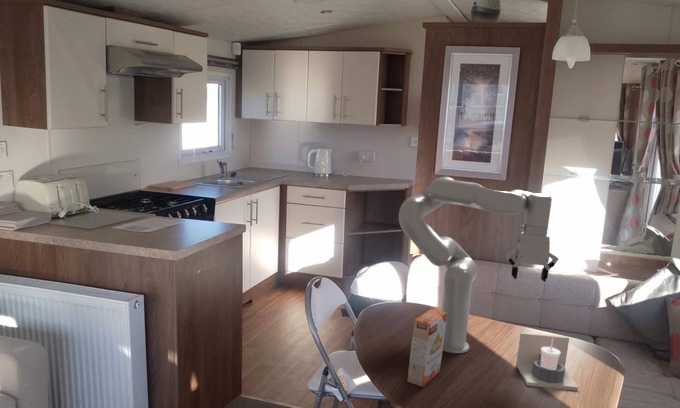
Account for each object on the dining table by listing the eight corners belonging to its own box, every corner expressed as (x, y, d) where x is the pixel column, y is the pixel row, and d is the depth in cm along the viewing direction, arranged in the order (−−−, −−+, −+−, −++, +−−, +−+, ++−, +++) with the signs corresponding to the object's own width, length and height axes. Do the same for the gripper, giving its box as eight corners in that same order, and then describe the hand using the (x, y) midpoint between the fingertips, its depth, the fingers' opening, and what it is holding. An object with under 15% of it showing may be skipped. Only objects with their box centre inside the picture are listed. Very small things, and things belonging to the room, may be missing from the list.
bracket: (527, 385, 186) (532, 350, 183) (516, 364, 200) (520, 332, 198) (577, 390, 185) (583, 355, 183) (563, 369, 199) (568, 336, 197)
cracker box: (424, 388, 178) (430, 324, 175) (406, 382, 181) (412, 319, 178) (441, 372, 190) (448, 312, 187) (424, 367, 193) (430, 307, 190)
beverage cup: (541, 369, 195) (547, 330, 193) (559, 376, 191) (565, 336, 189) (534, 375, 190) (540, 335, 188) (553, 382, 187) (559, 341, 184)
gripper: (512, 230, 191) (505, 280, 194) (565, 235, 190) (557, 284, 193) (507, 225, 199) (500, 273, 202) (558, 230, 198) (551, 278, 201)
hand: (528, 279), depth 197 cm, fingers open, 9 cm apart
